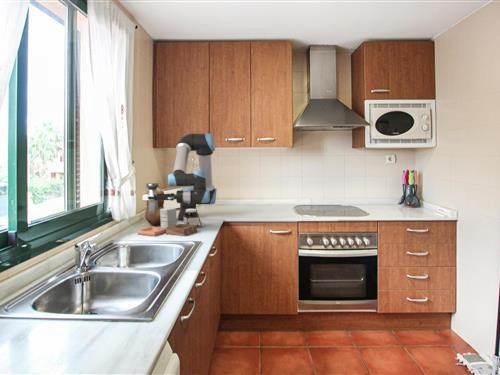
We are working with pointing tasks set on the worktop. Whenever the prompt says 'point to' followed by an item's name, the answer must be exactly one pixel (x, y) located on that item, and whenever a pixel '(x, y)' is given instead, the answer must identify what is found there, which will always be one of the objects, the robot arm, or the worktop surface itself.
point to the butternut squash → (156, 218)
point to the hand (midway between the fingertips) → (143, 197)
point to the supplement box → (168, 217)
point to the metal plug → (152, 203)
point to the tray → (152, 231)
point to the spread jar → (192, 218)
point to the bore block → (181, 229)
